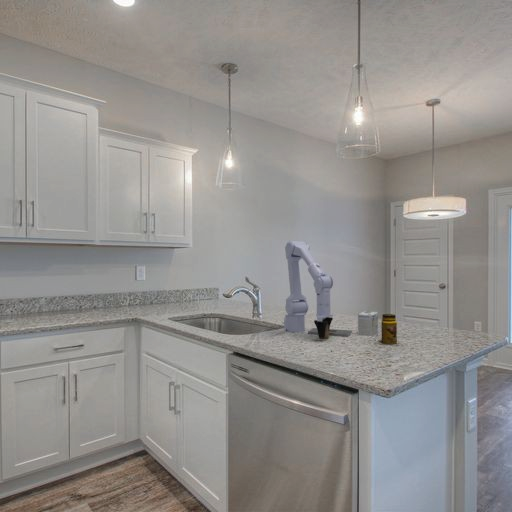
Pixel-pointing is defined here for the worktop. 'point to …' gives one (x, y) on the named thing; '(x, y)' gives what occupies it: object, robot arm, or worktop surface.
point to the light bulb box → (368, 323)
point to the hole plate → (332, 332)
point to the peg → (326, 333)
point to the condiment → (388, 330)
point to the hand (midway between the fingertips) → (323, 335)
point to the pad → (324, 339)
